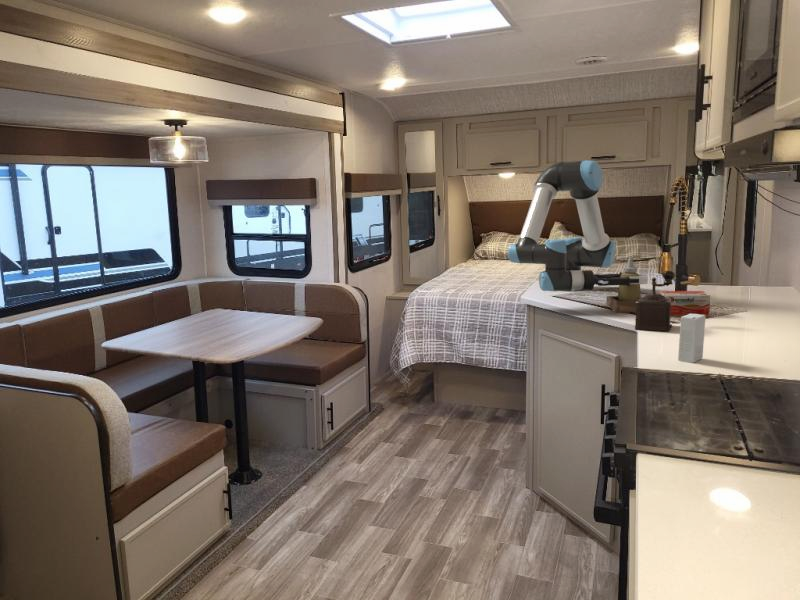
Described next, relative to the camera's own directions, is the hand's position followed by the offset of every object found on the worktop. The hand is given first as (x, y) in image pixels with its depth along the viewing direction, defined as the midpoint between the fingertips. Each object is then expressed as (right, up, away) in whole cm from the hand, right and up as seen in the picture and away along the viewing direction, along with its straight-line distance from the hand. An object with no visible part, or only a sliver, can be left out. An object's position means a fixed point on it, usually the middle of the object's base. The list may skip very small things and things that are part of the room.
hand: (643, 278), depth 232 cm
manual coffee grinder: (-7, -17, -26) cm, 32 cm away
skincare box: (-14, -24, -66) cm, 72 cm away
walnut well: (-5, -11, +2) cm, 13 cm away
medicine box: (+11, -13, -10) cm, 20 cm away
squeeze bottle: (-5, -10, +2) cm, 11 cm away
